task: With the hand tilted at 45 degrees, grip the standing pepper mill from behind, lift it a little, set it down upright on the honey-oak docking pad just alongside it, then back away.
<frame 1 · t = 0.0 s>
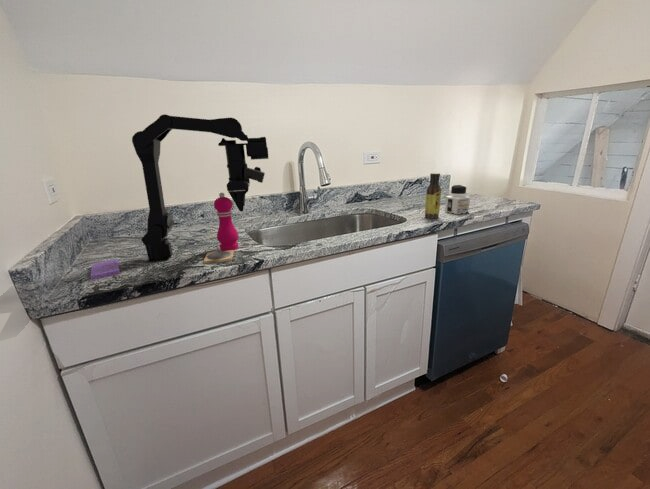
hand: (242, 208, 103), 15 cm above the worktop, tool pointing down, fingers open, 9 cm apart
sauce bottle: (431, 217, 143), on the worktop
dock: (219, 257, 102), on the worktop
container: (456, 212, 150), on the worktop
sponges: (106, 272, 95), on the worktop
pepper mill: (229, 249, 110), on the worktop
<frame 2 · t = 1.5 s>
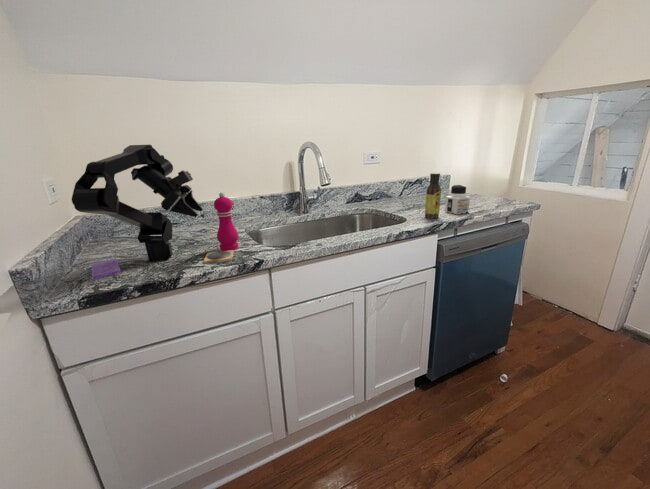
hand: (199, 213, 104), 14 cm above the worktop, tool tilted 45°, fingers open, 9 cm apart
nothing on the worktop moved.
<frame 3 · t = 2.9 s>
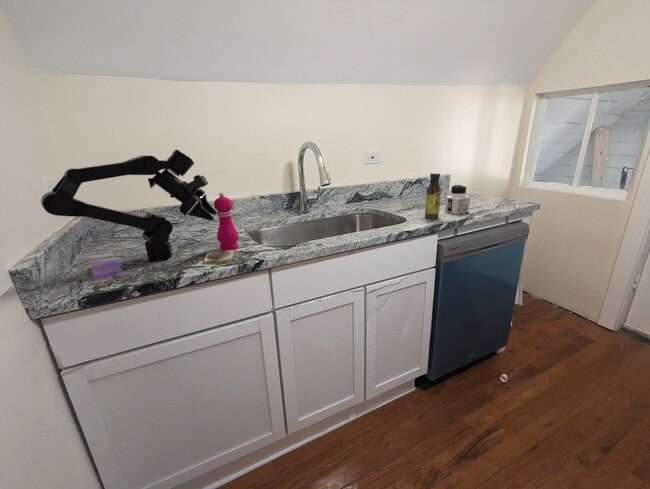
hand: (214, 216, 106), 12 cm above the worktop, tool tilted 45°, fingers open, 9 cm apart
nothing on the worktop moved.
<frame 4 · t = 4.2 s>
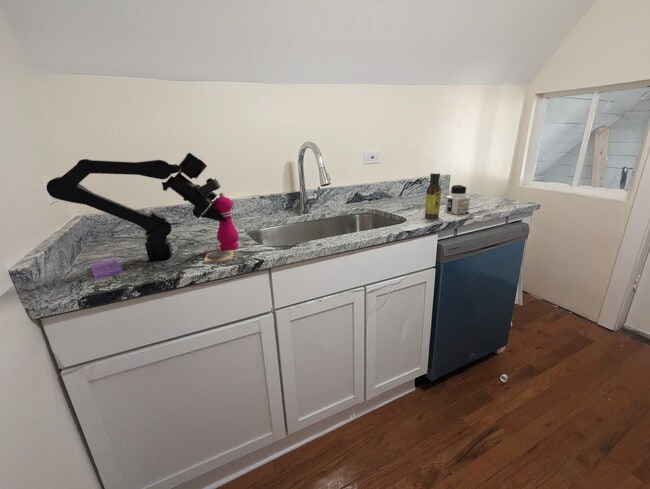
hand: (226, 219, 107), 11 cm above the worktop, tool tilted 45°, fingers closed on pepper mill, 5 cm apart
pepper mill: (229, 249, 110), on the worktop, touching gripper
everything else where it was.
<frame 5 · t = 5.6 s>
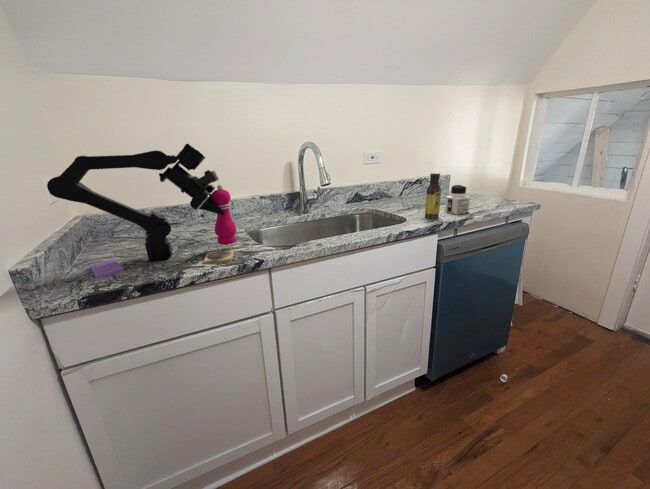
hand: (224, 212, 106), 13 cm above the worktop, tool tilted 45°, fingers closed on pepper mill, 5 cm apart
pepper mill: (227, 242, 109), point 2 cm above the worktop, touching gripper
everything else where it was.
when the fingers open (12 cm above the worktop, at t = 7.2 s): pepper mill stays where it is, resting on dock.
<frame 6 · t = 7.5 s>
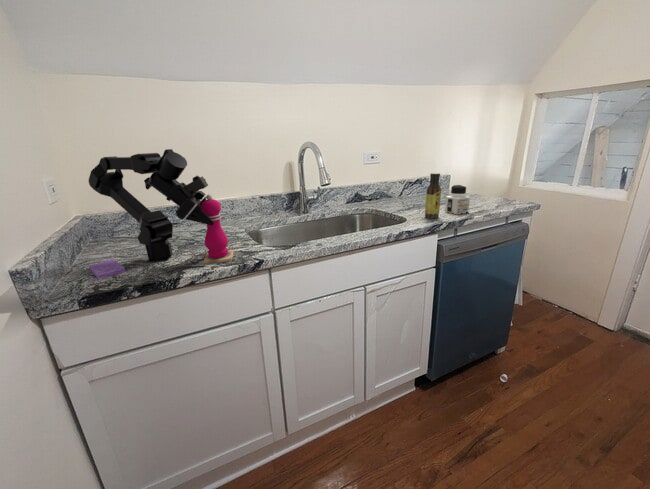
hand: (215, 221, 98), 12 cm above the worktop, tool tilted 45°, fingers open, 8 cm apart
pepper mill: (218, 255, 102), point 1 cm above the worktop, touching dock
everything else where it was.
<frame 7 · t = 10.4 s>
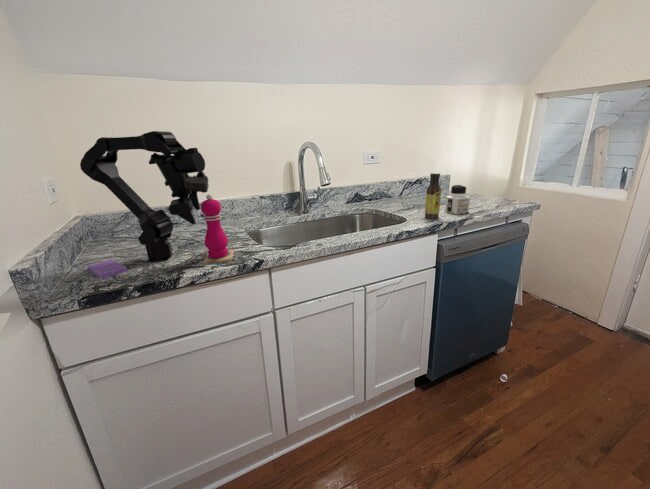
hand: (196, 216, 103), 13 cm above the worktop, tool tilted 20°, fingers open, 9 cm apart
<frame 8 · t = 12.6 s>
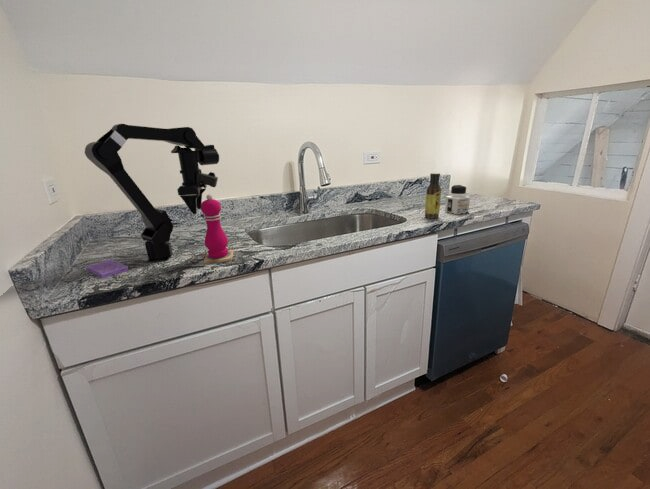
hand: (197, 211, 110), 13 cm above the worktop, tool pointing down, fingers open, 9 cm apart
at the end: pepper mill 0.4 cm off-centre on the dock, point 0.6 cm above the dock's base; pepper mill tilted 0°; the gripper is holding nothing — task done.
